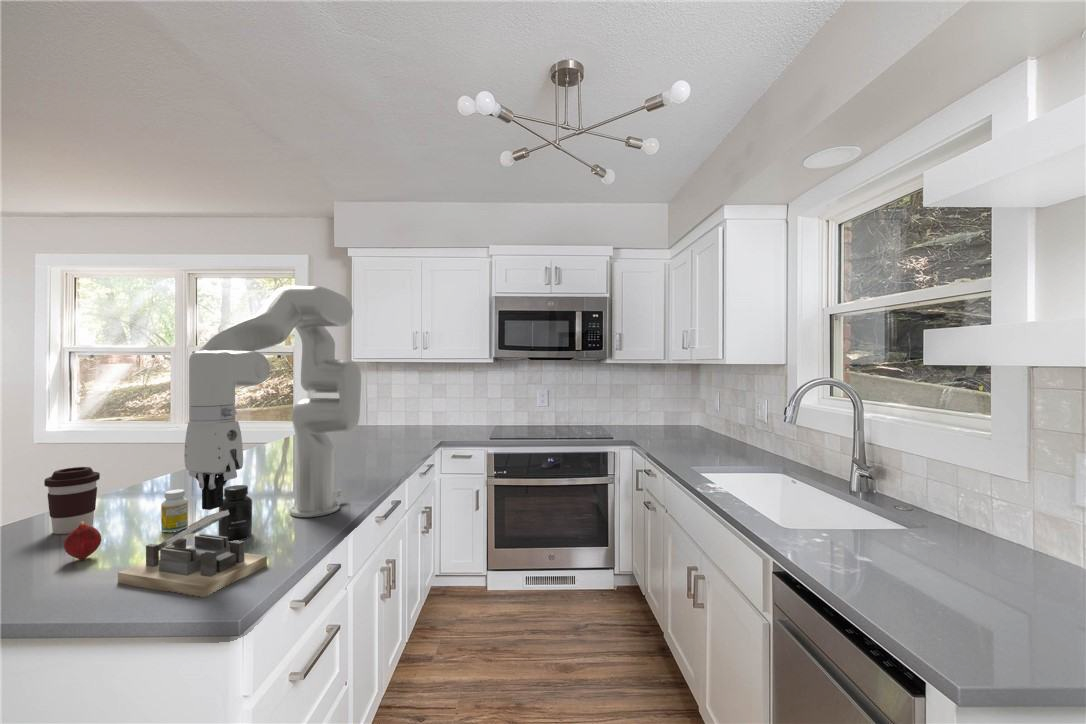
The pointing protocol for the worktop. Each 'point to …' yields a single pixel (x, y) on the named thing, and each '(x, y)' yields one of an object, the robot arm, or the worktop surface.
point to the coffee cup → (71, 498)
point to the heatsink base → (191, 580)
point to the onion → (82, 541)
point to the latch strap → (194, 528)
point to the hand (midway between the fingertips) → (212, 507)
